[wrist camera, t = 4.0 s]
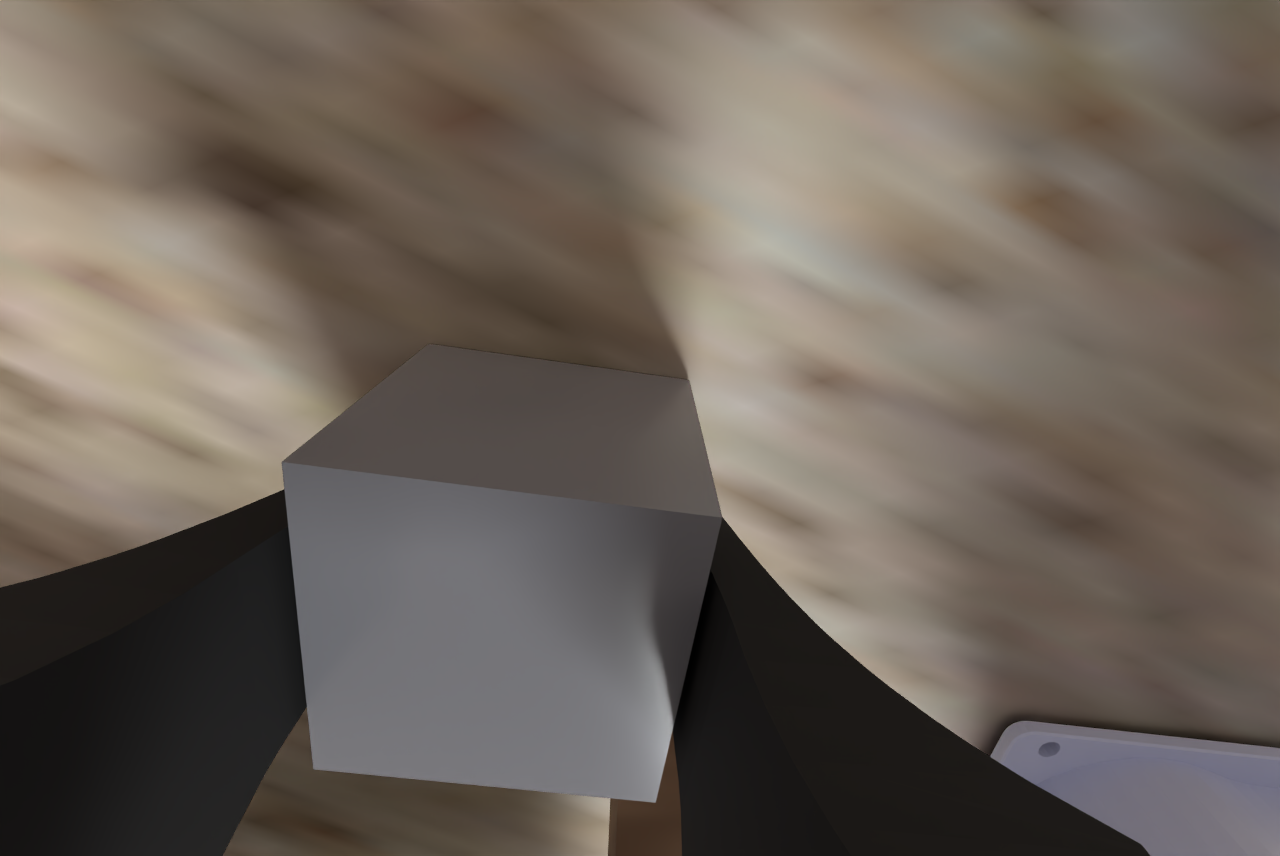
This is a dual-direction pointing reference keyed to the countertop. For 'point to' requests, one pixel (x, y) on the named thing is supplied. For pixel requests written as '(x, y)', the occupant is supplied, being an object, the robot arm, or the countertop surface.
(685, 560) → the stone
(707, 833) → the robot arm
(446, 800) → the countertop surface
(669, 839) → the trapdoor frame
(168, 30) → the countertop surface
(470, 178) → the countertop surface
